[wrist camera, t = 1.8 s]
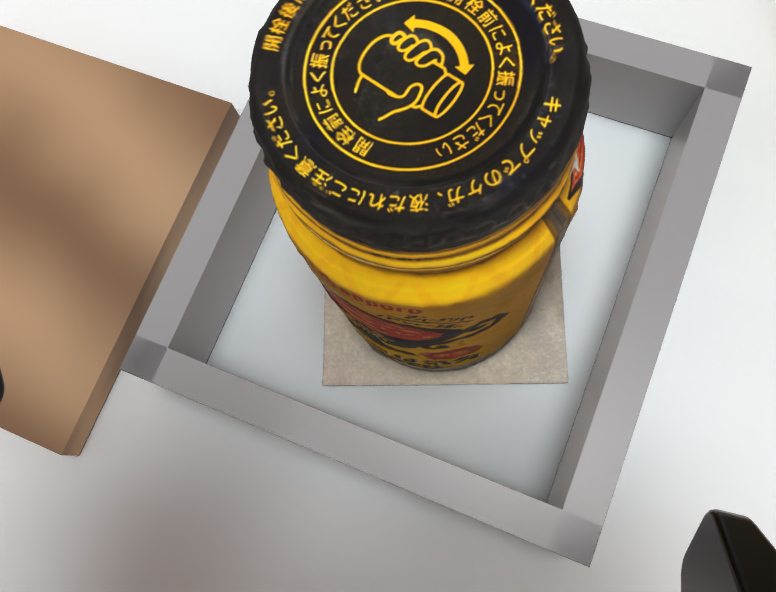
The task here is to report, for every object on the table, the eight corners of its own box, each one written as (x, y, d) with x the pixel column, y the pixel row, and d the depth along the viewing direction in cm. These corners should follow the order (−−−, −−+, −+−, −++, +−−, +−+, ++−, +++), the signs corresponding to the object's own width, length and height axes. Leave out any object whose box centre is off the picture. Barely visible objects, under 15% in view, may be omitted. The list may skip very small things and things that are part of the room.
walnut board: (78, 455, 21) (61, 455, 20) (-178, 339, 23) (-206, 334, 22) (240, 118, 24) (231, 103, 23) (-4, 35, 25) (-23, 18, 24)
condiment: (323, 386, 21) (168, 289, 10) (329, 132, 23) (205, -201, 12) (567, 383, 21) (713, 276, 9) (551, 122, 23) (653, -240, 11)
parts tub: (569, 552, 19) (589, 567, 17) (163, 382, 22) (119, 368, 19) (712, 119, 22) (751, 67, 19) (338, 7, 24) (322, -55, 21)
